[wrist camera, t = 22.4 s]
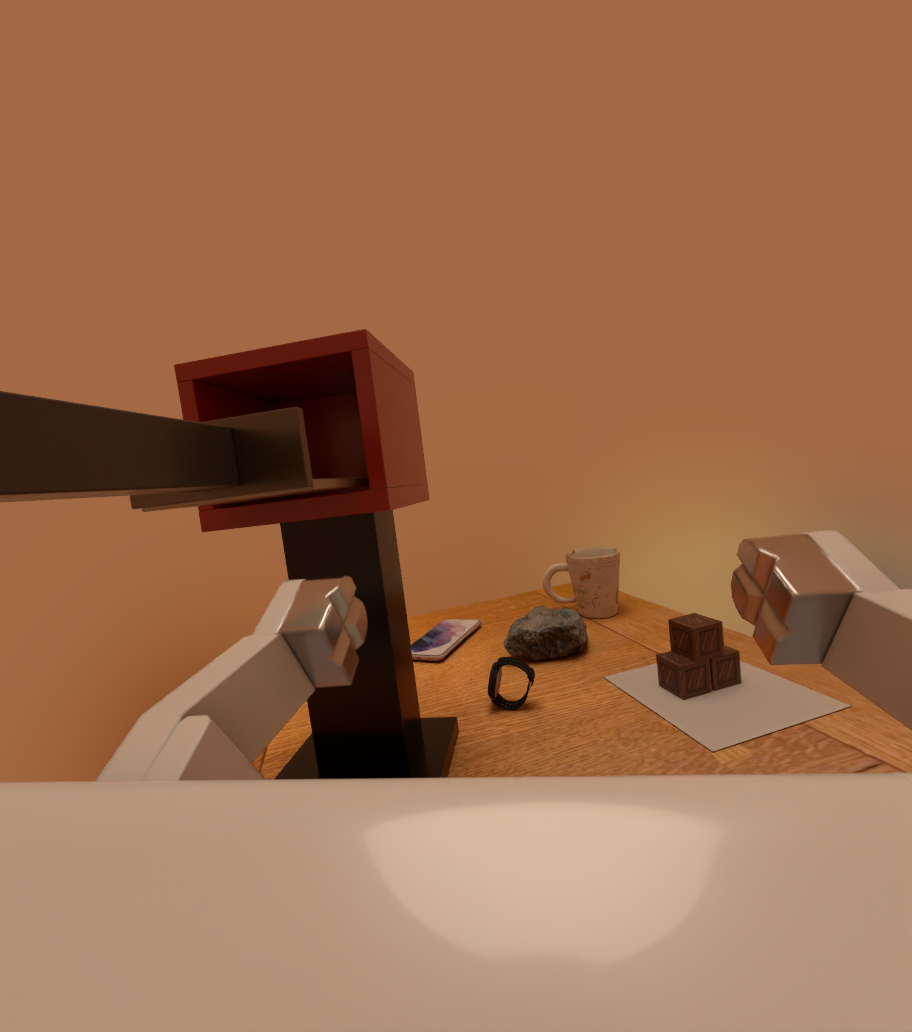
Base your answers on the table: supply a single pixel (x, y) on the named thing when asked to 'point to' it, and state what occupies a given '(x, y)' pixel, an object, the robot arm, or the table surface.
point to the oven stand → (341, 533)
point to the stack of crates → (718, 689)
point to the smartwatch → (496, 679)
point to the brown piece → (152, 456)
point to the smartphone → (442, 639)
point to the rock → (547, 634)
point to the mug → (590, 581)
